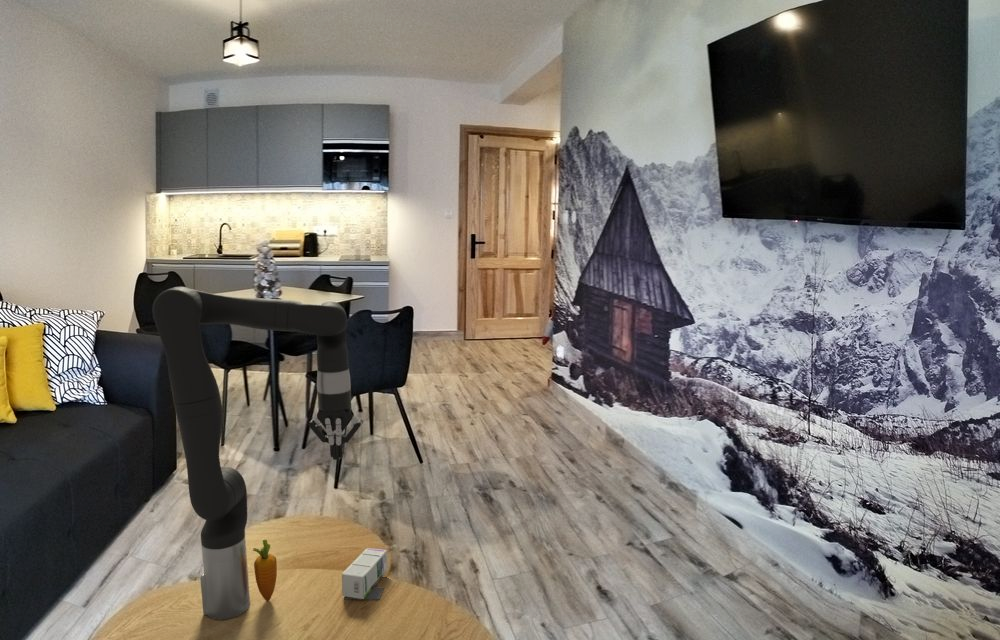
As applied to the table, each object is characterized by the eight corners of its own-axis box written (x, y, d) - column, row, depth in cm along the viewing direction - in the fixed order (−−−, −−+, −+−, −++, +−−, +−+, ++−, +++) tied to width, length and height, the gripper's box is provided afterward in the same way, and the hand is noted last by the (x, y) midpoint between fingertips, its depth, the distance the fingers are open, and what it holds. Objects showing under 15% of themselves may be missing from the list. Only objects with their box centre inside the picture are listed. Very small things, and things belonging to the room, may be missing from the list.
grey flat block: (343, 599, 154) (343, 597, 154) (349, 588, 158) (348, 586, 158) (379, 599, 154) (379, 598, 154) (383, 588, 158) (383, 587, 158)
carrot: (269, 609, 150) (265, 549, 148) (252, 604, 152) (247, 545, 149) (283, 597, 155) (279, 538, 152) (266, 593, 156) (262, 535, 154)
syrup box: (363, 576, 152) (388, 549, 166) (340, 573, 153) (367, 546, 167) (363, 599, 153) (388, 570, 167) (340, 596, 154) (367, 568, 168)
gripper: (366, 384, 154) (368, 453, 157) (311, 383, 155) (314, 452, 158) (358, 393, 147) (360, 465, 150) (300, 392, 147) (304, 464, 150)
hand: (337, 458), depth 154 cm, fingers closed
